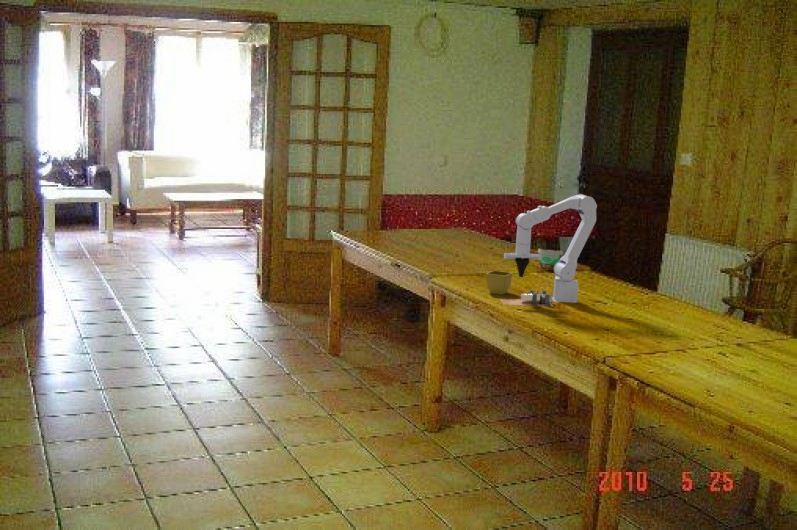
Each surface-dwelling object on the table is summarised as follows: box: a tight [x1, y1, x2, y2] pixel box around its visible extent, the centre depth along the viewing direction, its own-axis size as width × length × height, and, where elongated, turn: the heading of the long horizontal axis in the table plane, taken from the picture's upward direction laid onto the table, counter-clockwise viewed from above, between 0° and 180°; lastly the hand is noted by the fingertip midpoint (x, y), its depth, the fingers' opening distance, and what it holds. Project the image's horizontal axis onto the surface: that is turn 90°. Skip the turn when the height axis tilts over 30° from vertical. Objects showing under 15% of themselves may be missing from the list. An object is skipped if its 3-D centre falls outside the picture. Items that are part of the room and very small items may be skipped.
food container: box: [537, 248, 564, 270], centre depth 402 cm, size 12×6×10 cm, turn 73°
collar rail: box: [528, 289, 552, 307], centre depth 330 cm, size 7×10×4 cm
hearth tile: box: [499, 298, 554, 307], centre depth 330 cm, size 20×10×1 cm, turn 91°
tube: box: [519, 293, 553, 304], centre depth 329 cm, size 12×4×4 cm, turn 93°
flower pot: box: [485, 270, 514, 296], centre depth 345 cm, size 9×9×9 cm
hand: (520, 276), depth 333 cm, fingers closed
